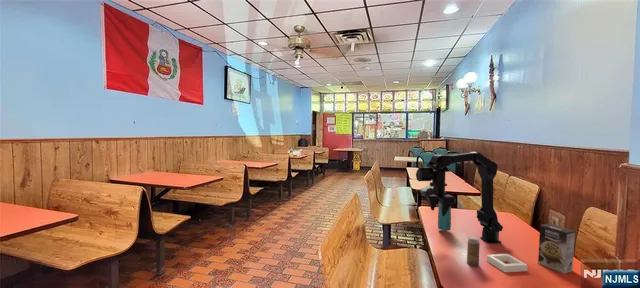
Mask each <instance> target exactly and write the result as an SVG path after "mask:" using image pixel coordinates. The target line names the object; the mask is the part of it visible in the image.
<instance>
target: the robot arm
mask: <svg viewBox="0 0 640 288" xmlns="http://www.w3.org/2000/svg"><path fill="white" fill-rule="evenodd" d="M464 162H472V163H473V165H475V166H476V167H477V173H478V174H479V177H480V178H481V179H480V181H481V188H480V189H481V207H480V208H479V209H477V210H476V217H475V218H477V220H478V222H479V224H480V226H482V231H481V236H480V237H479V238H480V239H481V240H483V241H485V242H486V243H489V244H497V243H498V244H499V243H502V241H501V240H500V239H499V237H500V232H502V231H503V228H504V225H502V224H501V223H500V222H499V220H498V214H497V213H496V210H495V208H494V179H495V177H496V176H497V174H498V164H497V163H496V161H492V160H491V159H489V158H488V157H486V156H485V155H483V154H482V153H481V152H479V151H470V152H463V153H455V154H441V153H439V154H438V153H437V154H433V155H432V157H431V158H430V160H429V161H428V163H427V165H425V166H418V168H417V170H416V172H415V178H416V180H417V181H418V182H430V183H429V185H427V186H423V187H420V189H419V191H420V195H421V196H422V197H424V198H427V201H428V203H429V206H430V209H431V211H435V208H436V204H437V202H439V203H440V205H441V212H442V216H445V215H446V213H447V211H448V210H449V208H450V207H451V208H452V206H453V205H454V204H456V201H457V199H456V197H455V196H454V195H450V194H448V192H446V187H448V184H447V183H446V173H450V172H451V170H450V169H449V168H448V167H449V166H451V165H453V164H458V163H464Z"/></svg>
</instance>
